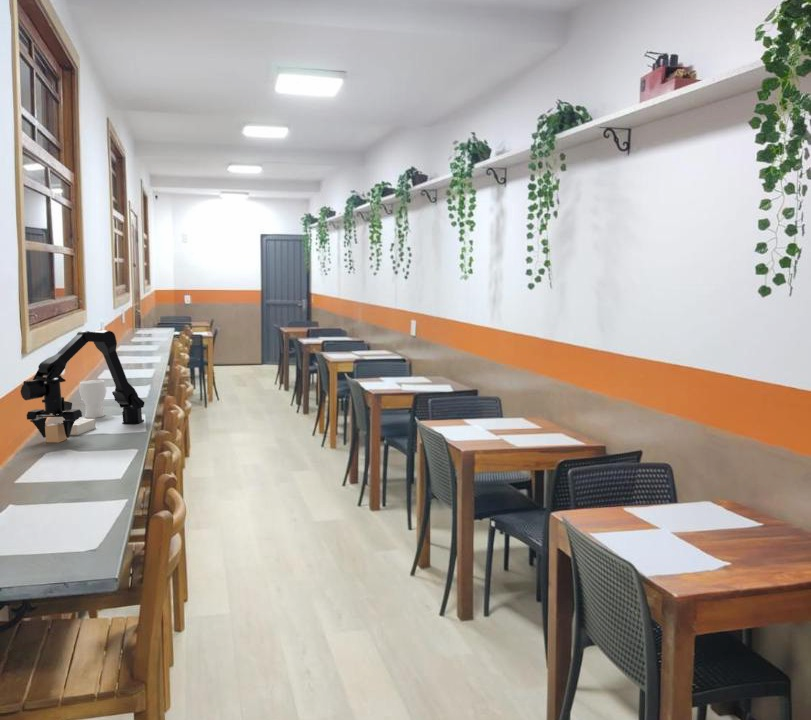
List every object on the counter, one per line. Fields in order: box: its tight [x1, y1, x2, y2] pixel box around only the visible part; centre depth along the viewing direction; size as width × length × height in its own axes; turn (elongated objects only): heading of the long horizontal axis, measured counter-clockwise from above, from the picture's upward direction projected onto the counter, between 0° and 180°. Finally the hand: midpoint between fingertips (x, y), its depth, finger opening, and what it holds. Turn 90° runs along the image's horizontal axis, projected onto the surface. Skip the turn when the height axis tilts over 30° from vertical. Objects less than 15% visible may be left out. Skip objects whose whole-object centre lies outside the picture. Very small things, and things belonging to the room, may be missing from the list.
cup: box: [78, 379, 107, 419], centre depth 317 cm, size 11×11×15 cm
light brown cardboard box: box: [45, 422, 68, 443], centre depth 274 cm, size 5×5×6 cm
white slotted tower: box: [70, 418, 97, 436], centre depth 289 cm, size 5×12×4 cm, turn 171°
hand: (56, 437), depth 274 cm, fingers open, 9 cm apart
